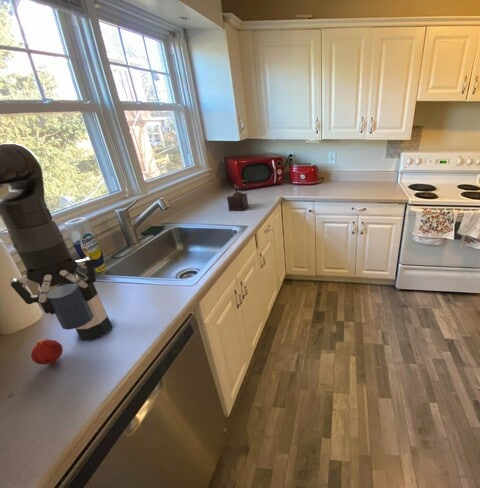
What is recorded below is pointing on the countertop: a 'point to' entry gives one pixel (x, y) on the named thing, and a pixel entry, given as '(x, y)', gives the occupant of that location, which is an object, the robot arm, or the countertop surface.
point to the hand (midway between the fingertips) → (70, 305)
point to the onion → (46, 352)
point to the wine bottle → (100, 320)
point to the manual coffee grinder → (238, 199)
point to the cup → (70, 306)
